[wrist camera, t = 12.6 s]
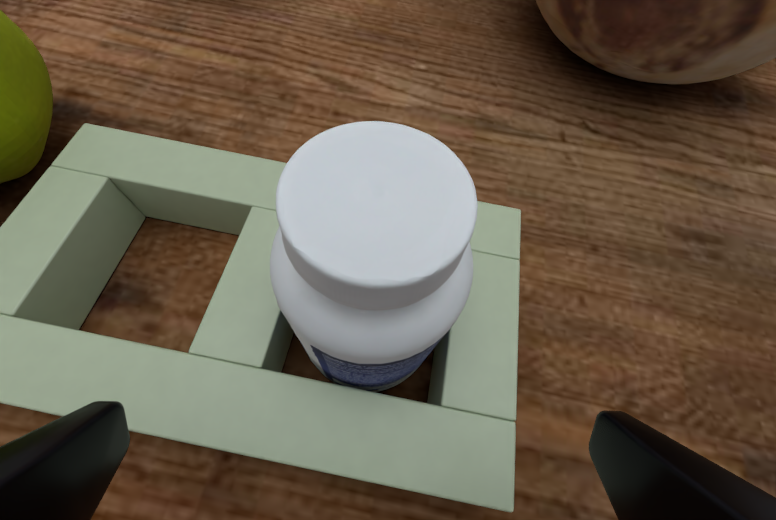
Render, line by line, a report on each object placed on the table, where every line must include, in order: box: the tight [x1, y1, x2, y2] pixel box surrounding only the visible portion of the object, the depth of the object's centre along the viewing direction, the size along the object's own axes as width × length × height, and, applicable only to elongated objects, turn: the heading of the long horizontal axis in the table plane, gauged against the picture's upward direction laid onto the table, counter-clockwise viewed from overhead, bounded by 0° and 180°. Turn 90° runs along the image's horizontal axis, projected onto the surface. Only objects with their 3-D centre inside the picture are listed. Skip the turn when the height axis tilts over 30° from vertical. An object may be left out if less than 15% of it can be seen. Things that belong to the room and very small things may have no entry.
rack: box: [0, 123, 521, 512], centre depth 15 cm, size 11×20×3 cm, turn 79°
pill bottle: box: [270, 121, 478, 392], centre depth 11 cm, size 5×5×10 cm
